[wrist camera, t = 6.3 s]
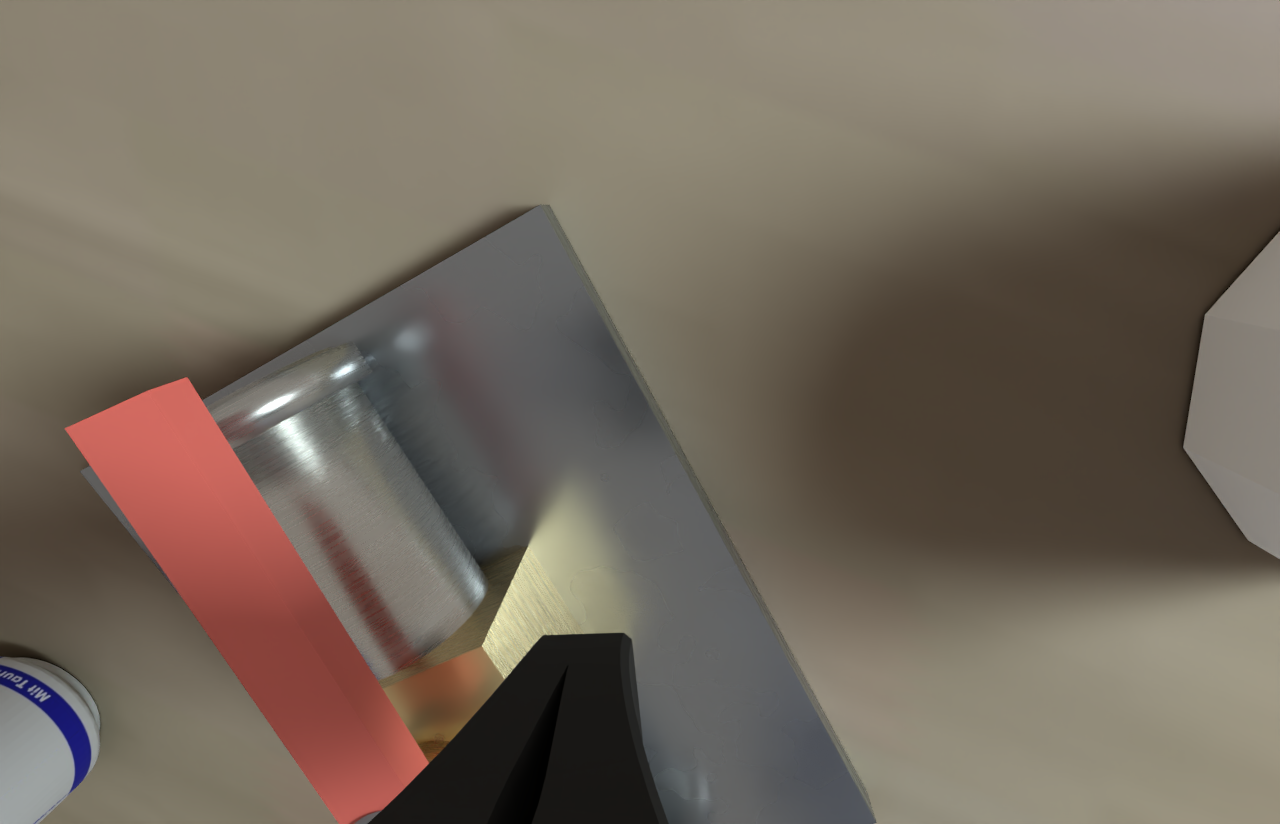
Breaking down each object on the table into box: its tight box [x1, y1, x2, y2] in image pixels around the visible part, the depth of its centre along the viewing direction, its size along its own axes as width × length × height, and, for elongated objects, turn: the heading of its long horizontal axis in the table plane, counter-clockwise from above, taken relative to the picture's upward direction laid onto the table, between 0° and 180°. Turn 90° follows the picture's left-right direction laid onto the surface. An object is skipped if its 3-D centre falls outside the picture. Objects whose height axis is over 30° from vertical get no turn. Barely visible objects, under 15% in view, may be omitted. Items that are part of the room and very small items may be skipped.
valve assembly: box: [80, 205, 876, 824], centre depth 16 cm, size 19×14×6 cm
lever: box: [65, 377, 429, 824], centre depth 11 cm, size 11×3×1 cm, turn 23°
